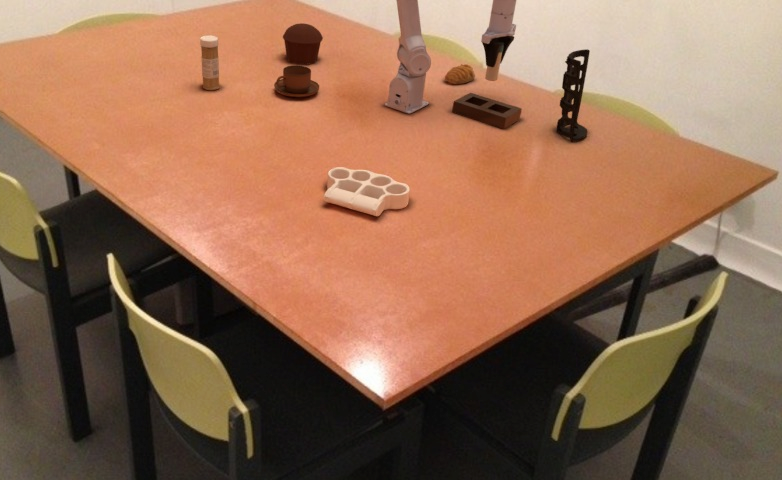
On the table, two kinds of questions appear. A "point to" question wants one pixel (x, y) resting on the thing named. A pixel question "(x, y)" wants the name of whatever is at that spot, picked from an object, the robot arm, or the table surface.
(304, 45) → the muffin
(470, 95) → the block
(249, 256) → the table surface
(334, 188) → the knuckle duster
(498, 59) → the marker
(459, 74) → the pastry
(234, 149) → the table surface
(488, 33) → the robot arm
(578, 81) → the holder
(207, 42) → the sprinkles bottle
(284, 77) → the cup and saucer
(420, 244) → the table surface
